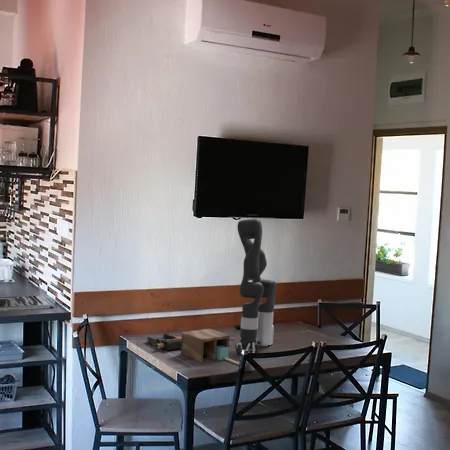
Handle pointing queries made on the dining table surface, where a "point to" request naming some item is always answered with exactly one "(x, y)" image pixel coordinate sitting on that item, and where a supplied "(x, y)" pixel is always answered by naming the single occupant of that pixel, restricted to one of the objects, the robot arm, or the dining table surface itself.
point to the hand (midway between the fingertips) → (246, 364)
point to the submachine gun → (166, 342)
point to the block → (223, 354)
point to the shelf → (203, 343)
